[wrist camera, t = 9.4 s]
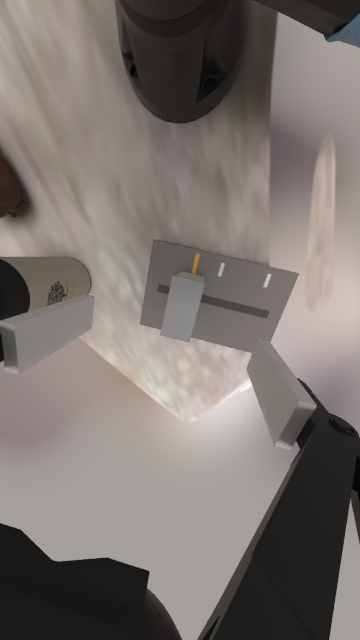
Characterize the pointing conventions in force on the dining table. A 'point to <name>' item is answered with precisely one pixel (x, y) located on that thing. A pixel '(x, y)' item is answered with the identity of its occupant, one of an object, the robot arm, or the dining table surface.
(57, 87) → the dining table surface
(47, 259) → the travel mug
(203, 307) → the console
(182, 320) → the fader
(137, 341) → the dining table surface
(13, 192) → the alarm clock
